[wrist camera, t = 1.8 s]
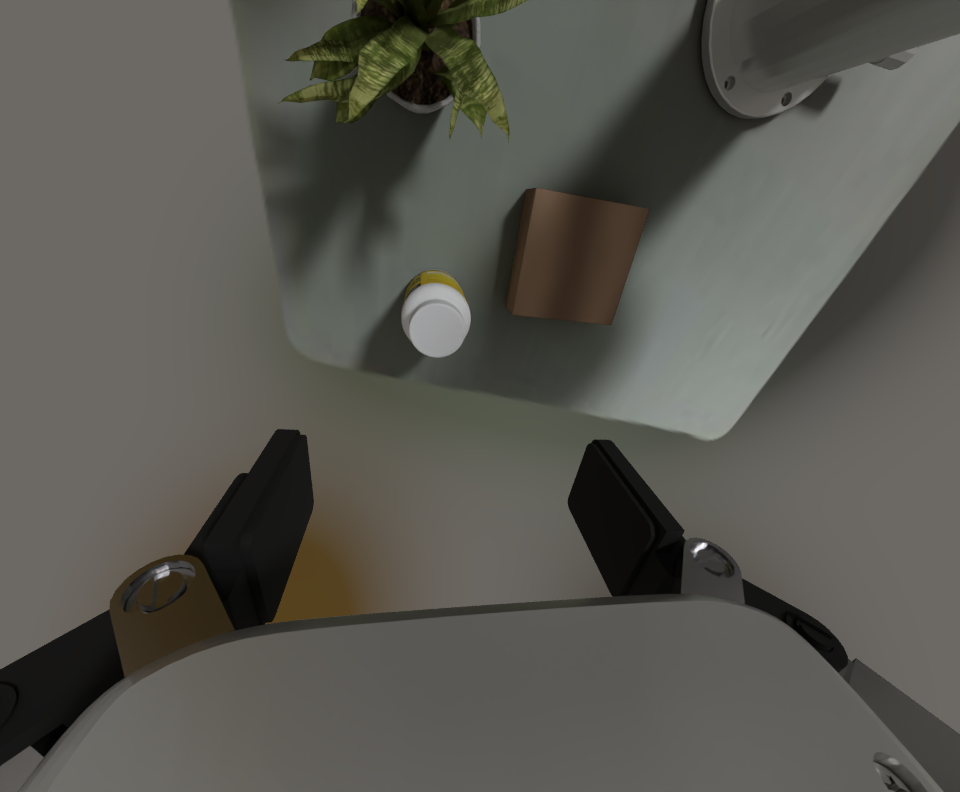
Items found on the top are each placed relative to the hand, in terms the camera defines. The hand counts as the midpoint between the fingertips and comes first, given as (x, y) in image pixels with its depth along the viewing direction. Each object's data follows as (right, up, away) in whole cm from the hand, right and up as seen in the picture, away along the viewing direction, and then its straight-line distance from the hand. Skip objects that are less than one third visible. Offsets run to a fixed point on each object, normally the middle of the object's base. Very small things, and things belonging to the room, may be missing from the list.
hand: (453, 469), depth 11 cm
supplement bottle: (-4, +12, +21) cm, 24 cm away
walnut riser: (+9, +15, +21) cm, 28 cm away
